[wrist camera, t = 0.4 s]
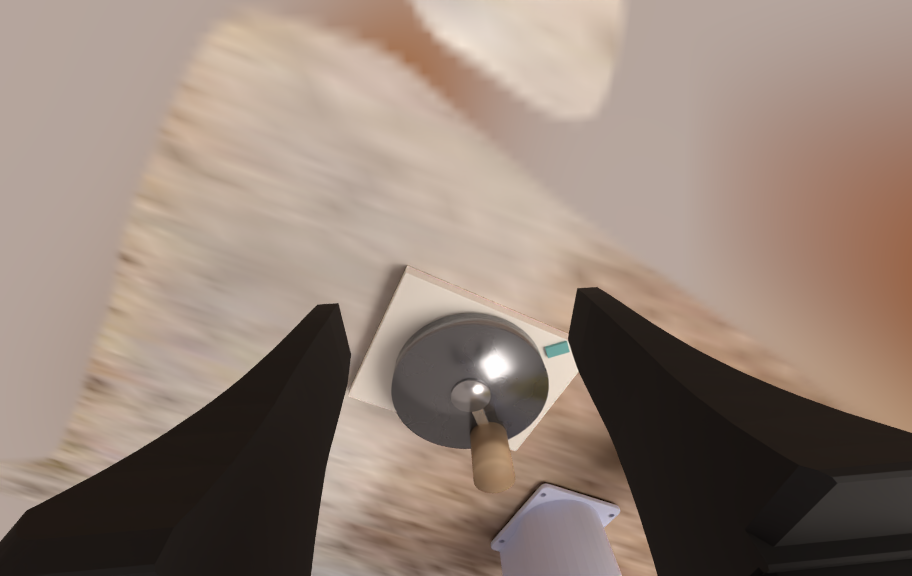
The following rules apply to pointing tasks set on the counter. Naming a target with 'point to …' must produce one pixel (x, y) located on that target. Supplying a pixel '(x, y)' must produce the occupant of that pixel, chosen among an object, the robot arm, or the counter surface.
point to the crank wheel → (471, 390)
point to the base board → (436, 299)
